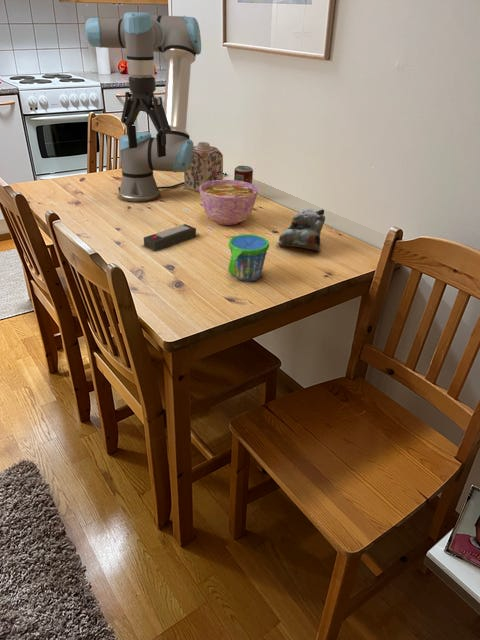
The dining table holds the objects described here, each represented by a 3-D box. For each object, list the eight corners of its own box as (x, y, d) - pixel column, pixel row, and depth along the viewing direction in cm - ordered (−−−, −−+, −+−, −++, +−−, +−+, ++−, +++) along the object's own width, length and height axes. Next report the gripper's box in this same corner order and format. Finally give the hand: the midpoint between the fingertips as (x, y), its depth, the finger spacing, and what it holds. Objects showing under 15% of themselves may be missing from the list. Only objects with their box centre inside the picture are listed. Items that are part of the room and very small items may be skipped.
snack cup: (244, 292, 126) (245, 256, 121) (214, 279, 132) (214, 244, 126) (279, 272, 136) (282, 239, 131) (250, 261, 142) (252, 228, 136)
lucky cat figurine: (269, 243, 154) (281, 200, 152) (298, 252, 160) (310, 211, 158) (296, 247, 141) (309, 200, 139) (327, 257, 147) (340, 212, 146)
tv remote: (185, 231, 160) (185, 222, 158) (196, 236, 157) (196, 227, 155) (144, 246, 149) (143, 236, 147) (154, 251, 146) (154, 241, 144)
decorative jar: (201, 182, 208) (201, 138, 198) (223, 187, 202) (224, 143, 193) (183, 188, 199) (182, 143, 190) (205, 194, 194) (205, 148, 184)
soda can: (248, 202, 187) (250, 170, 181) (231, 200, 189) (232, 168, 182) (253, 197, 193) (255, 165, 187) (236, 195, 195) (237, 164, 188)
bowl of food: (187, 220, 169) (186, 187, 163) (227, 207, 182) (228, 176, 175) (228, 236, 158) (229, 201, 151) (268, 221, 170) (270, 189, 164)
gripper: (181, 80, 135) (183, 157, 146) (124, 70, 148) (131, 142, 160) (160, 82, 130) (165, 162, 142) (104, 72, 143) (112, 146, 155)
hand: (147, 152), depth 151 cm, fingers open, 13 cm apart
